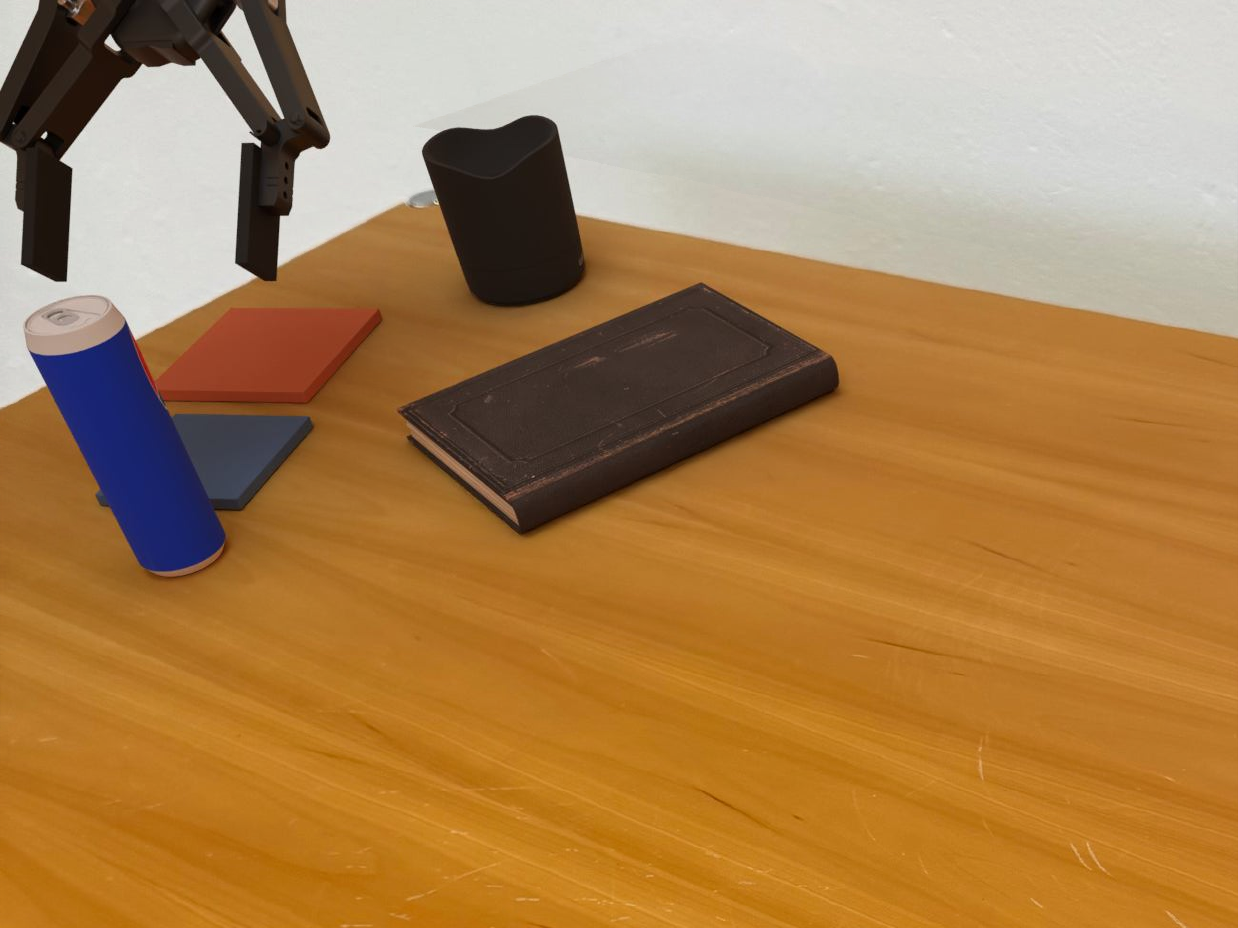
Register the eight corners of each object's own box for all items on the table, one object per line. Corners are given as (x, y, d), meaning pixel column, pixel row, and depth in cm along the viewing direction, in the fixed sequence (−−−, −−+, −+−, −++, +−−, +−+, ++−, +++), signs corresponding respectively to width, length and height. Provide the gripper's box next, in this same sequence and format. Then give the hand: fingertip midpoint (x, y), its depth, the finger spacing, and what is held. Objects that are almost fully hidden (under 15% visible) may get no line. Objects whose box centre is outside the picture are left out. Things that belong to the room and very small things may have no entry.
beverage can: (247, 543, 97) (137, 301, 86) (180, 589, 94) (56, 344, 83) (192, 524, 99) (77, 285, 88) (124, 568, 96) (-3, 327, 86)
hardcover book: (408, 440, 104) (396, 408, 102) (708, 313, 112) (701, 281, 111) (523, 538, 95) (513, 503, 93) (841, 391, 103) (836, 357, 101)
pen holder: (536, 319, 114) (496, 174, 107) (438, 298, 118) (393, 157, 111) (617, 263, 120) (584, 121, 113) (521, 245, 124) (483, 107, 116)
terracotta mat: (150, 400, 111) (145, 389, 111) (235, 318, 119) (230, 307, 119) (307, 403, 109) (303, 392, 108) (382, 318, 117) (379, 308, 116)
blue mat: (99, 505, 102) (93, 494, 101) (180, 423, 109) (175, 413, 108) (241, 510, 100) (236, 499, 99) (314, 426, 106) (309, 415, 106)
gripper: (406, -83, 92) (384, 296, 93) (26, -63, 97) (8, 296, 98) (332, -167, 85) (308, 245, 85) (-76, -141, 90) (-94, 248, 90)
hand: (148, 273), depth 92 cm, fingers open, 13 cm apart
